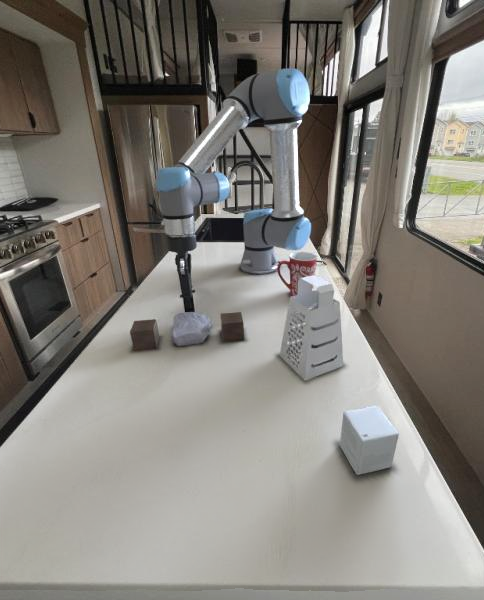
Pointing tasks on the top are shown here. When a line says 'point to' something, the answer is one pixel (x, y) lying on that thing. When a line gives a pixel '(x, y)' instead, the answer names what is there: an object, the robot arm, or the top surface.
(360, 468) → the product box
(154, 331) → the walnut block
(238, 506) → the top surface
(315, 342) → the grater
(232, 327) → the walnut block
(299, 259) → the mug
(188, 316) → the stone block
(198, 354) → the top surface
